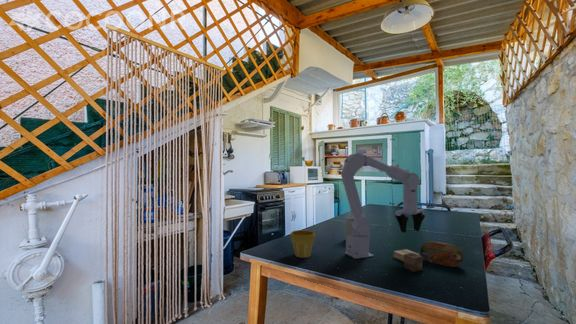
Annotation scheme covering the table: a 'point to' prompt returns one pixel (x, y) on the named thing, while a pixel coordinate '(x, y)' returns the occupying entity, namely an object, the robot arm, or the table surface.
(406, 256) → the walnut block
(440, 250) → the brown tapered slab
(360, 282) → the table surface
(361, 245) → the robot arm
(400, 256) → the oak block
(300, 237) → the plant pot
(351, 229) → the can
